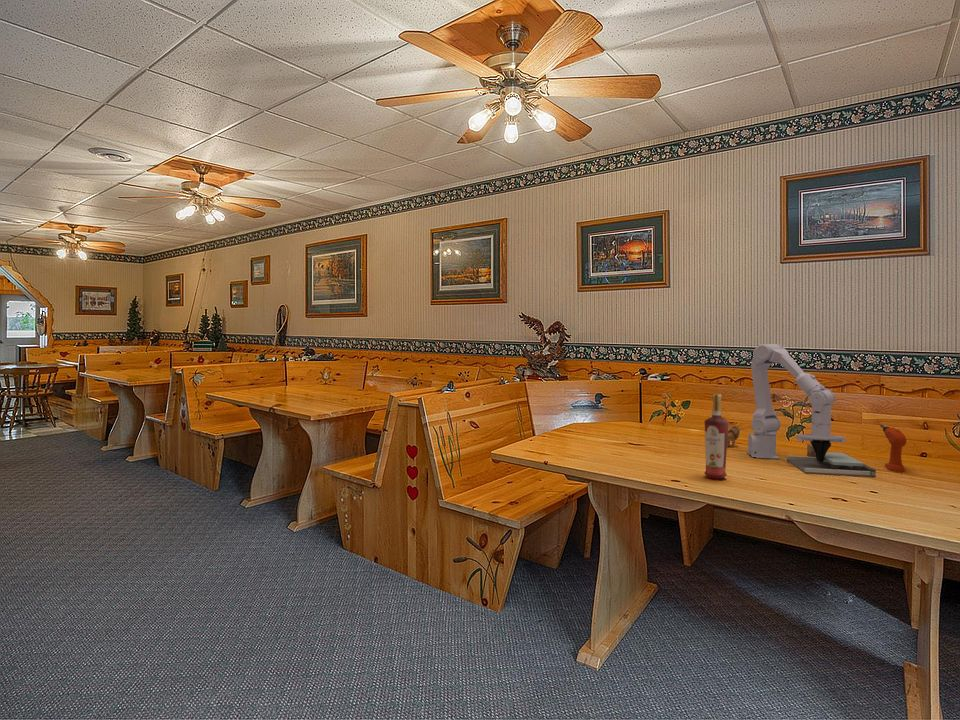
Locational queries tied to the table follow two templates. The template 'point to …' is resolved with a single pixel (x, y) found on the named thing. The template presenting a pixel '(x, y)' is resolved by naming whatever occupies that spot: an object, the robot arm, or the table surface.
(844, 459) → the grey flat slab
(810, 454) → the block
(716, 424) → the liquor
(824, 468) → the track
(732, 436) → the lion figurine
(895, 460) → the toy drill
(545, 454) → the table surface
